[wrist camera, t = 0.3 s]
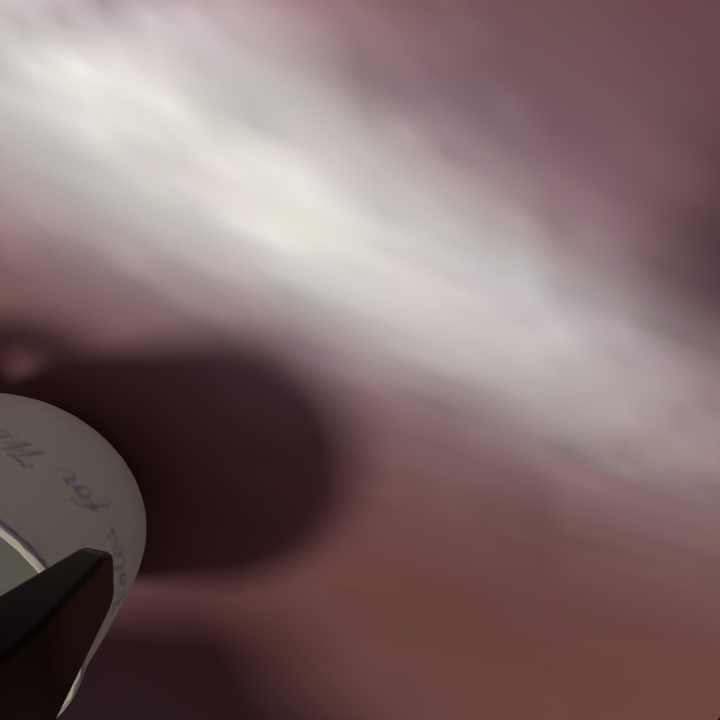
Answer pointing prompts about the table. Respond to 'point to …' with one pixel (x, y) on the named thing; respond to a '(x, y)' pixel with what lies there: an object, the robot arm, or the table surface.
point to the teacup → (64, 501)
